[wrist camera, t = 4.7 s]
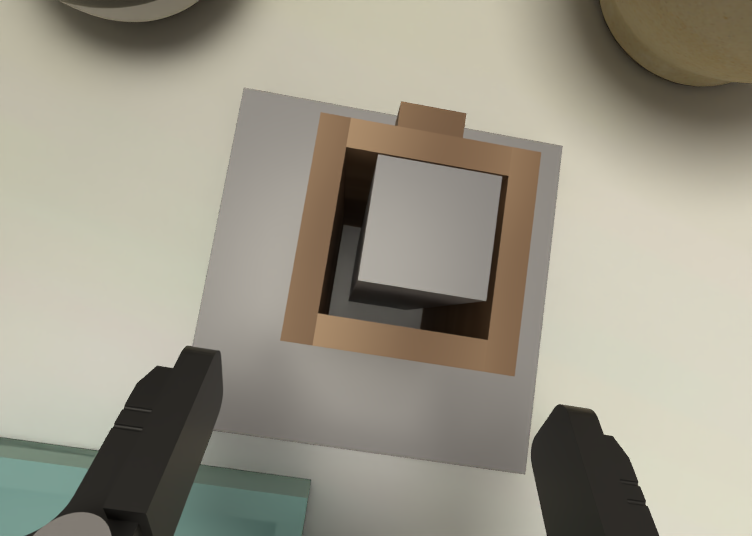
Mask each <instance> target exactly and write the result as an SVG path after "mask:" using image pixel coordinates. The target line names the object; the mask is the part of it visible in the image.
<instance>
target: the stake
mask: <svg viewBox="0 0 752 536" xmlns="http://www.w3.org/2000/svg"><path fill="white" fill-rule="evenodd" d="M321 112H323V113H328V114H334V115H339V116H345V117H350V118H356V119H361V120H367V121H372V122H378V123H383V124H389V125H394V126H395V123H396V119H397V116H396V115H391V114H385V113H380V112H374V111H369V110H363V109H358V108H352V107H347V106H341V105H336V104H331V103H325V102H320V101H314V100H309V99H303V98H298V97H292V96H287V95H281V94H276V93H271V92H265V91H260V90H254V89H249V88H244V89H243V94H242V99H241V104H240V109H239V115H238V120H237V125H236V130H235V135H234V140H233V145H232V150H231V155H230V160H229V165H228V170H227V175H226V180H225V185H224V190H223V195H222V200H221V205H220V210H219V215H218V220H217V225H216V230H215V235H214V240H213V245H212V250H211V255H210V260H209V265H208V270H207V275H206V280H205V285H204V290H203V295H202V300H201V305H200V310H199V315H198V320H197V325H196V330H195V335H194V341H193V347H200V348H206V349H213V350H219V351H220V352H221V360H222V376H223V398H222V404H221V408H220V412H219V415H218V418H217V421H216V423H215V426H214V429H213V430H214V431H221V432H228V433H235V434H242V435H249V436H256V437H263V438H271V439H278V440H285V441H292V442H299V443H306V444H313V445H320V446H327V447H334V448H341V449H349V450H356V451H363V452H370V453H377V454H384V455H391V456H398V457H405V458H412V459H420V460H427V461H434V462H441V463H448V464H455V465H462V466H469V467H476V468H483V469H491V470H498V471H505V472H512V473H519V474H525V471H526V462H527V453H528V445H529V436H530V427H531V418H532V409H533V401H534V392H535V383H536V374H537V366H538V357H539V348H540V339H541V330H542V322H543V313H544V304H545V295H546V286H547V278H548V269H549V260H550V251H551V242H552V234H553V225H554V216H555V207H556V199H557V190H558V181H559V172H560V163H561V155H562V146H560V145H554V144H549V143H543V142H538V141H533V140H527V139H522V138H516V137H511V136H505V135H500V134H494V133H489V132H483V131H478V130H473V129H467V128H464V134H463V138H466V139H471V140H477V141H482V142H488V143H493V144H499V145H504V146H510V147H515V148H521V149H526V150H532V151H537V152H541V160H540V168H539V177H538V185H537V193H536V202H535V210H534V219H533V227H532V235H531V244H530V252H529V261H528V269H527V277H526V286H525V294H524V303H523V311H522V319H521V328H520V336H519V345H518V353H517V361H516V370H515V377H514V376H508V375H501V374H495V373H488V372H482V371H475V370H469V369H462V368H456V367H449V366H442V365H436V364H429V363H423V362H416V361H410V360H403V359H397V358H390V357H384V356H377V355H371V354H364V353H357V352H351V351H344V350H338V349H331V348H325V347H318V346H312V345H305V344H299V343H292V342H286V341H280V338H281V332H282V327H283V321H284V316H285V310H286V304H287V299H288V293H289V287H290V282H291V276H292V271H293V265H294V259H295V254H296V248H297V242H298V237H299V231H300V226H301V220H302V214H303V209H304V203H305V197H306V192H307V186H308V181H309V175H310V169H311V164H312V158H313V152H314V147H315V141H316V136H317V130H318V124H319V119H320V113H321ZM501 182H502V176H497V175H492V174H486V173H480V172H475V171H469V170H464V169H458V168H452V167H447V166H441V165H435V164H430V163H424V162H419V161H413V160H407V159H402V158H396V157H390V156H385V155H379V154H378V157H377V162H376V166H375V170H374V175H373V179H372V183H371V188H370V192H369V196H368V201H367V205H366V209H365V214H364V218H363V222H362V227H361V228H360V227H354V226H348V225H343V231H342V237H341V243H340V249H339V255H338V261H337V267H336V273H335V279H334V285H333V291H332V297H331V303H330V309H329V315H332V316H338V317H344V318H351V319H357V320H363V321H370V322H376V323H382V324H389V325H395V326H402V327H408V328H414V329H420V326H421V319H422V312H423V308H429V307H438V306H447V305H456V304H465V303H473V302H482V301H486V299H487V291H488V283H489V276H490V268H491V260H492V252H493V244H494V237H495V229H496V221H497V213H498V205H499V198H500V190H501Z"/></svg>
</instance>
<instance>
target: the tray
mask: <svg viewBox="0 0 752 536" xmlns="http://www.w3.org/2000/svg"><path fill="white" fill-rule="evenodd" d="M97 453H98V451H96V450H89V449H81V448H74V447H67V446H60V445H52V444H45V443H38V442H30V441H23V440H16V439H8V438H1V437H0V536H25V535H28V534H30V533H32V532H34V531H36V530H38V529H40V528H41V527H43V526H44V525H46V524H48V523H49V522H50V521H51V520H53V519H54V518H55V517H56V516H57V515H58V514H59V513H60V512H61V511H62V510H63V509H64V508H65V507H66V506H67V505H68V503H69V502H70V500H71V499H72V497H73V496H74V494H75V492H76V490H77V489H78V487H79V485H80V483H81V482H82V480H83V478H84V476H85V474H86V473H87V471H88V469H89V467H90V466H91V464H92V462H93V460H94V458H95V457H96V455H97ZM310 484H311V480H309V479H301V478H294V477H287V476H279V475H272V474H265V473H257V472H250V471H243V470H235V469H228V468H221V467H213V466H206V465H200V466H199V469H198V472H197V474H196V477H195V480H194V482H193V485H192V488H191V490H190V493H189V496H188V498H187V501H186V504H185V506H184V509H183V512H182V515H181V517H180V520H179V523H178V525H177V528H176V531H175V533H174V536H302V532H303V526H304V520H305V514H306V508H307V502H308V496H309V490H310Z"/></svg>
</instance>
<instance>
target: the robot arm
mask: <svg viewBox="0 0 752 536" xmlns="http://www.w3.org/2000/svg"><path fill="white" fill-rule="evenodd" d="M222 398H223V376H222V360H221V352H220V351H219V350H213V349H206V348H200V347H193V346H186V347H185V348H184V349H183V350H182V352H181V354H180V356H179V358H178V360H177V362H176V364H175V366H174V368H168V367H162V366H156V367H155V368H154V369H153V370H152V371H151V372H149V373H148V374H147V375H146V376H145V377H144V378H142V379H141V380H140V381H139V382H138V383H137V384H136V386H135V388H134V389H133V391H132V393H131V395H130V396H129V398H128V400H127V402H126V404H125V407H124V409H123V410H122V411H121V412H120V414H119V416H118V418H117V420H116V421H115V423H114V427H113V428H111V430H110V432H109V434H108V435H107V437H106V439H105V441H104V443H103V444H102V446H101V448H100V450H99V451H98V453H97V455H96V457H95V458H94V460H93V462H92V464H91V466H90V467H89V469H88V471H87V473H86V474H85V476H84V478H83V480H82V482H81V483H80V485H79V487H78V489H77V490H76V492H75V494H74V496H73V497H72V499H71V500H70V502H69V503H68V505H67V506H66V507H65V508H64V509H63V510H62V511H61V512H60V513H59V514H58V515H57V516H56V517H55V518H54V519H53V520H51V521H50V522H49V523H48V524H46V525H44V526H43V527H41V528H40V529H38V530H36V531H34V532H32V533H30V534H28V535H25V536H174V533H175V531H176V528H177V525H178V523H179V520H180V517H181V515H182V512H183V509H184V506H185V504H186V501H187V498H188V496H189V493H190V490H191V488H192V485H193V482H194V480H195V477H196V474H197V472H198V469H199V466H200V463H201V461H202V458H203V455H204V453H205V450H206V447H207V445H208V442H209V439H210V437H211V434H212V431H213V429H214V426H215V423H216V421H217V418H218V415H219V412H220V408H221V404H222ZM531 462H532V468H533V472H534V477H535V482H536V486H537V491H538V496H539V501H540V505H541V510H542V515H543V519H544V524H545V529H546V533H547V536H659V534H658V531H657V529H656V526H655V523H654V521H653V518H652V516H651V513H650V511H649V508H648V506H646V505H645V502H646V500H645V498H644V495H643V493H642V490H641V487H640V486H638V480H637V477H636V475H635V472H634V469H633V467H632V464H631V462H630V459H629V457H628V456H627V455H626V453H625V452H624V451H623V449H622V448H621V447H620V445H619V444H618V443H617V441H616V440H615V439H614V437H613V436H609V435H604V434H603V431H602V428H601V426H600V423H599V420H598V417H597V415H596V414H595V412H594V411H593V410H591V409H587V408H581V407H574V406H568V405H561V404H559V405H557V406H556V407H555V408H554V409H553V411H552V412H551V414H550V415H549V417H548V418H547V420H546V421H545V423H544V424H543V426H542V427H541V428H540V430H539V431H538V433H537V434H536V436H535V437H534V440H533V443H532V447H531Z"/></svg>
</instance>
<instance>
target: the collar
mask: <svg viewBox="0 0 752 536" xmlns="http://www.w3.org/2000/svg"><path fill="white" fill-rule="evenodd" d="M465 119H466V113H461V112H456V111H450V110H445V109H439V108H434V107H429V106H423V105H418V104H412V103H407V102H402V101H401V105H400V108H399V112H398V115H397V119H396V123H395V126H394V125H389V124H383V123H378V122H372V121H367V120H361V119H356V118H350V117H345V116H339V115H334V114H328V113H323V112H321V113H320V119H319V124H318V130H317V136H316V141H315V147H314V152H313V158H312V164H311V169H310V175H309V181H308V186H307V192H306V197H305V203H304V209H303V214H302V220H301V226H300V231H299V237H298V242H297V248H296V254H295V259H294V265H293V271H292V276H291V282H290V287H289V293H288V299H287V304H286V310H285V316H284V321H283V327H282V332H281V338H280V341H286V342H292V343H299V344H305V345H312V346H318V347H325V348H331V349H338V350H344V351H351V352H357V353H364V354H371V355H377V356H384V357H390V358H397V359H403V360H410V361H416V362H423V363H429V364H436V365H442V366H449V367H456V368H462V369H469V370H475V371H482V372H488V373H495V374H501V375H508V376H514V377H515V370H516V361H517V353H518V345H519V336H520V328H521V319H522V311H523V303H524V294H525V286H526V277H527V269H528V261H529V252H530V244H531V235H532V227H533V219H534V210H535V202H536V193H537V185H538V177H539V168H540V160H541V152H537V151H532V150H526V149H521V148H515V147H510V146H504V145H499V144H493V143H488V142H482V141H477V140H471V139H466V138H463V134H464V127H465ZM378 154H379V155H385V156H390V157H396V158H402V159H407V160H413V161H419V162H424V163H430V164H435V165H441V166H447V167H452V168H458V169H464V170H469V171H475V172H480V173H486V174H492V175H497V176H502V182H501V190H500V198H499V205H498V213H497V221H496V229H495V237H494V244H493V252H492V260H491V268H490V276H489V283H488V291H487V299H486V301H482V302H473V303H465V304H456V305H447V306H438V307H429V308H423V312H422V319H421V326H420V329H414V328H408V327H402V326H395V325H389V324H382V323H376V322H370V321H363V320H357V319H351V318H344V317H338V316H332V315H329V309H330V303H331V297H332V291H333V285H334V279H335V273H336V267H337V261H338V255H339V249H340V243H341V237H342V231H343V225H348V226H354V227H360V228H361V227H362V222H363V218H364V214H365V209H366V205H367V201H368V196H369V192H370V188H371V183H372V179H373V175H374V170H375V166H376V162H377V157H378Z"/></svg>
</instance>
